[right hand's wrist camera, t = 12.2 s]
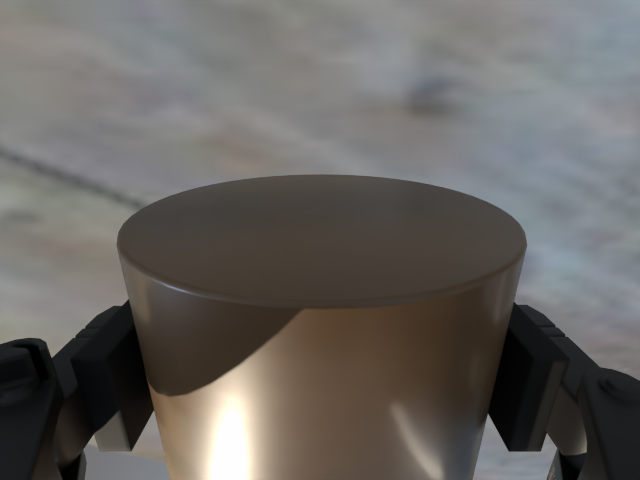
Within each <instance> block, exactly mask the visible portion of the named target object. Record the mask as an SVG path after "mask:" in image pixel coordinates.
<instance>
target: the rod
mask: <svg viewBox="0 0 640 480" xmlns="http://www.w3.org/2000/svg"><path fill="white" fill-rule="evenodd" d="M526 248H527V242H526V236H525V232H524V230H523V229H522V227H521V225H520V224H519V223H518V222H517V221H516V220H515V219H514V218H513V217H512V216H511V215H509V214H508V213H506V212H505V211H503V210H502V209H500V208H498V207H496V206H494V205H492V204H490V203H488V202H486V201H483V200H481V199H478V198H476V197H473V196H470V195H467V194H464V193H461V192H458V191H454V190H451V189H447V188H443V187H438V186H434V185H429V184H424V183H418V182H412V181H406V180H399V179H390V178H381V177H370V176H355V175H287V176H272V177H261V178H252V179H243V180H236V181H229V182H224V183H218V184H213V185H208V186H204V187H199V188H195V189H191V190H188V191H184V192H181V193H178V194H175V195H172V196H169V197H166V198H164V199H161V200H159V201H157V202H154V203H152V204H150V205H148V206H146V207H144V208H142V209H141V210H139V211H138V212H136V213H135V214H134V215H132V216H131V217H130V218H129V219H128V220H127V221H126V222H125V223H124V224H123V226H122V227H121V229H120V231H119V233H118V238H117V249H118V254H119V258H120V262H121V267H122V271H123V276H124V280H125V284H126V289H127V293H128V297H129V302H130V306H131V311H132V315H133V319H134V324H135V328H136V332H137V337H138V341H139V346H140V350H141V354H142V359H143V363H144V367H145V372H146V376H147V381H148V385H149V389H150V394H151V398H152V402H153V407H154V411H155V416H156V420H157V424H158V429H159V433H160V437H161V442H162V446H163V451H164V455H165V459H166V464H167V468H168V472H169V477H170V480H472V479H473V475H474V471H475V466H476V462H477V458H478V454H479V449H480V445H481V441H482V436H483V432H484V428H485V423H486V419H487V415H488V411H489V406H490V402H491V398H492V393H493V389H494V385H495V381H496V376H497V372H498V368H499V363H500V359H501V355H502V351H503V346H504V342H505V338H506V333H507V329H508V325H509V321H510V316H511V312H512V308H513V303H514V299H515V295H516V291H517V286H518V282H519V278H520V273H521V269H522V265H523V261H524V256H525V252H526Z"/></svg>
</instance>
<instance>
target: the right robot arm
mask: <svg viewBox="0 0 640 480" xmlns="http://www.w3.org/2000/svg"><path fill="white" fill-rule="evenodd" d="M153 411H154V407H153V402H152V398H151V394H150V389H149V385H148V381H147V376H146V372H145V367H144V363H143V359H142V354H141V350H140V346H139V341H138V337H137V332H136V328H135V324H134V319H133V315H132V311H131V306H130V302H129V300H128V301H127V302H126V303H125V304H124V305H123V306H113V307H111V308H109V309H108V310H106V311H104V312H102V313H101V314H99V315H97V316H96V317H95V318H94V319H93V320H92V321H91V322H90V323H89V324H88V325H86V326H85V329H82V330H81V331H80V332H79V333H78V334H77V335H76V337H75V338H73V339H72V340H71V341H70V342H68V343H67V344H66V345H65V346H64V347H63V348H62V349H61V350H60V351H59V352H58V353H57V354H56V355H55V356H54V357H53V358H51V355H50V353H49V350H48V347H47V344H46V342H45V341H43V340H41V339H38V338H25V339H18V340H13V341H10V342H7V343H3V344H0V480H85V472H86V457H85V454H84V451H83V449H84V447H85V446H86V445H87V443H88V442H89V440H90V439H91V437H92V436H93V434H94V436H95V439H96V442H97V445H98V448H99V451H132V449H133V447H134V446H135V444H136V442H137V440H138V438H139V436H140V435H141V433H142V431H143V429H144V427H145V425H146V424H147V422H148V420H149V418H150V416H151V414H152V412H153ZM488 414H489V416H490V418H491V419H492V421H493V423H494V425H495V427H496V429H497V430H498V432H499V434H500V436H501V438H502V440H503V441H504V443H505V445H506V447H507V449H508V451H541V449H542V446H543V443H544V440H545V436H546V433H547V434H548V435H549V436H550V438H551V439H552V441H553V442H554V444H555V445H556V447H557V451H556V454H555V456H554V459H553V462H552V465H551V468H550V471H549V474H548V477H547V480H555V479H556V480H640V381H639V380H637V379H635V378H633V377H631V376H629V375H628V374H625V373H622V372H619V371H616V370H613V369H607V368H601V367H599V366H598V365H597V364H596V363H595V362H594V361H593V360H592V359H591V358H590V357H588V356H587V355H586V354H585V353H584V352H583V351H582V350H581V349H580V348H579V347H578V346H577V345H576V344H575V343H574V342H573V341H571V340H570V339H569V338H568V337H565V334H564V333H563V332H562V331H561V330H560V329H559V328H556V327H555V325H554V324H553V323H552V322H551V321H550V320H549V319H548V318H547V317H546V316H545V315H544V314H542V313H540V312H539V311H537V310H535V309H533V308H531V307H530V306H528V305H517V304H516V303H515V302H514V303H513V308H512V312H511V316H510V321H509V325H508V329H507V333H506V338H505V342H504V346H503V351H502V355H501V359H500V363H499V368H498V372H497V376H496V381H495V385H494V389H493V393H492V398H491V402H490V406H489V411H488Z"/></svg>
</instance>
